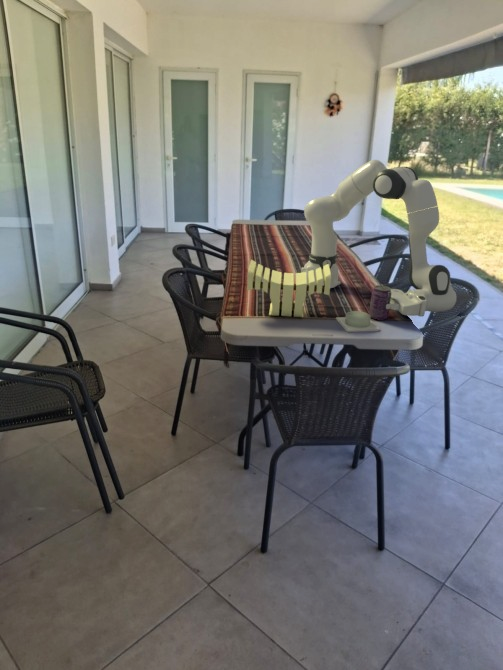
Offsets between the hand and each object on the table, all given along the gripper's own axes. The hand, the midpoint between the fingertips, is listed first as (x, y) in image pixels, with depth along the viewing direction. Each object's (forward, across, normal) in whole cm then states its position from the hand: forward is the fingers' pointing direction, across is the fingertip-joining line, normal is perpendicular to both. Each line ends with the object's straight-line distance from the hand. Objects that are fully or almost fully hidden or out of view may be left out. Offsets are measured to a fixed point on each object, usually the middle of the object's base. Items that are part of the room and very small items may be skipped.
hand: (380, 301), depth 184 cm
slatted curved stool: (+34, -9, +7) cm, 36 cm away
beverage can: (0, 0, +7) cm, 7 cm away
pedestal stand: (+11, +7, +6) cm, 14 cm away
